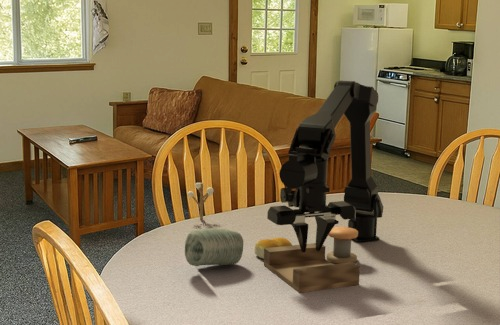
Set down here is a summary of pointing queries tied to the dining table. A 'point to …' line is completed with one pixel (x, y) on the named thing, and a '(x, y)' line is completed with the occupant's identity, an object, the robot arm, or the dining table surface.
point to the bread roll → (270, 245)
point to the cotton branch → (201, 196)
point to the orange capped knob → (342, 245)
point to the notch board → (309, 268)
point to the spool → (213, 247)
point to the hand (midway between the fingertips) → (310, 251)
